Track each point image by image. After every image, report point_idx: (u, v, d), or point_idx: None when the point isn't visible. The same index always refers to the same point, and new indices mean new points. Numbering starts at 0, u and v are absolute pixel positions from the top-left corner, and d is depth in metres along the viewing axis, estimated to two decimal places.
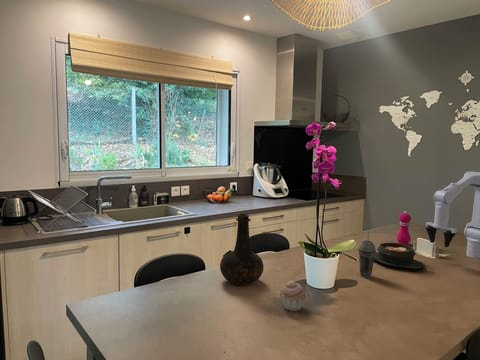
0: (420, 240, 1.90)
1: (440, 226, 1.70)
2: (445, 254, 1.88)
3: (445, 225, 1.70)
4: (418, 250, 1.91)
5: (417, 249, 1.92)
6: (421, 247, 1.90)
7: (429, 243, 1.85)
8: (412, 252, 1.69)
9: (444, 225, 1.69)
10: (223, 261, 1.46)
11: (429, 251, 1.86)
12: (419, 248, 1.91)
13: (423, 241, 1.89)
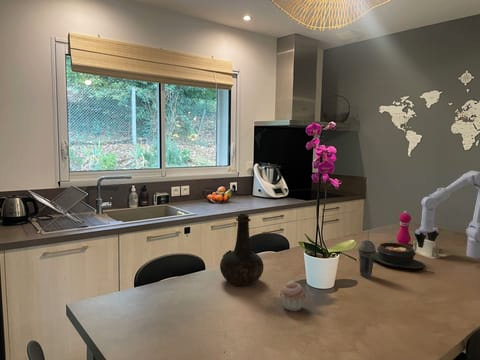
0: None
1: (420, 228, 1.89)
2: (445, 254, 1.88)
3: (422, 227, 1.87)
4: (418, 250, 1.91)
5: (417, 249, 1.92)
6: None
7: (429, 243, 1.85)
8: (412, 252, 1.69)
9: (421, 227, 1.87)
10: (223, 261, 1.46)
11: (429, 251, 1.86)
12: (419, 248, 1.91)
13: None
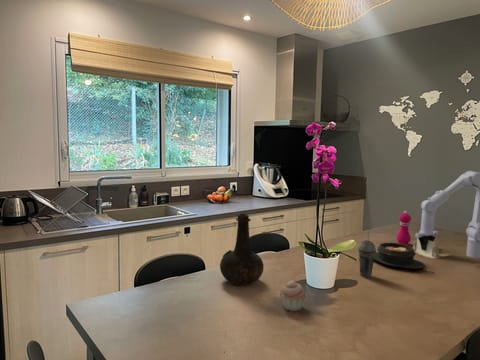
0: None
1: (420, 231, 1.89)
2: (445, 254, 1.88)
3: (422, 231, 1.87)
4: (418, 250, 1.91)
5: (417, 249, 1.92)
6: None
7: (429, 243, 1.85)
8: (412, 252, 1.69)
9: (421, 231, 1.87)
10: (223, 261, 1.46)
11: (429, 251, 1.86)
12: (419, 248, 1.91)
13: None
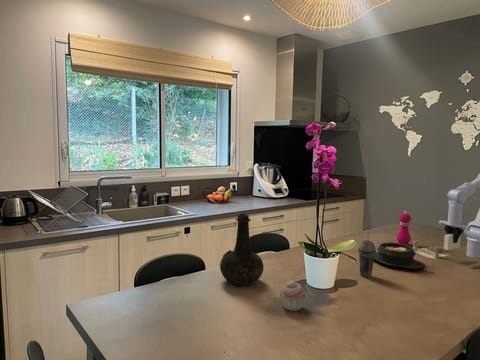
0: (451, 236, 1.76)
1: (454, 224, 1.75)
2: (445, 254, 1.88)
3: (459, 223, 1.75)
4: (449, 248, 1.76)
5: (448, 248, 1.76)
6: (451, 243, 1.77)
7: None
8: (412, 252, 1.69)
9: (458, 223, 1.75)
10: (223, 261, 1.46)
11: (457, 244, 1.79)
12: (450, 246, 1.77)
13: None
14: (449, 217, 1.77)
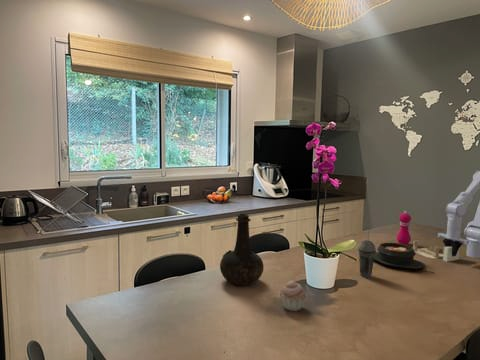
0: (450, 249, 1.77)
1: (453, 237, 1.76)
2: None
3: (458, 236, 1.76)
4: (448, 260, 1.77)
5: (447, 260, 1.77)
6: (451, 256, 1.78)
7: None
8: (412, 252, 1.69)
9: (457, 236, 1.75)
10: (223, 261, 1.46)
11: (457, 256, 1.80)
12: (449, 258, 1.77)
13: None
14: (448, 230, 1.78)
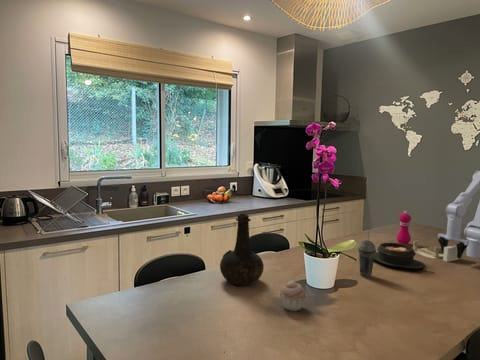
0: (450, 249, 1.77)
1: (453, 238, 1.76)
2: None
3: (457, 237, 1.76)
4: (448, 260, 1.77)
5: (447, 260, 1.77)
6: (451, 256, 1.78)
7: None
8: (412, 252, 1.69)
9: (457, 237, 1.75)
10: (223, 261, 1.46)
11: None
12: (449, 258, 1.77)
13: (452, 249, 1.78)
14: (448, 231, 1.78)
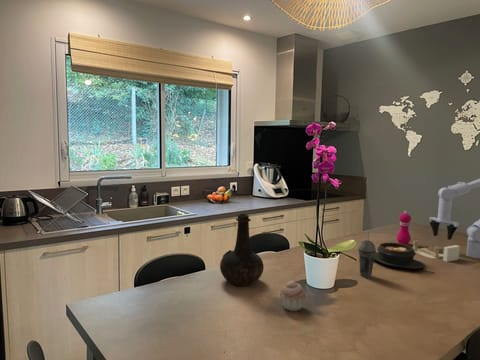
0: (450, 249, 1.77)
1: (443, 220, 1.85)
2: None
3: (448, 219, 1.85)
4: (448, 260, 1.77)
5: (447, 260, 1.77)
6: (451, 256, 1.78)
7: (457, 248, 1.79)
8: (412, 252, 1.69)
9: (447, 219, 1.85)
10: (223, 261, 1.46)
11: (457, 256, 1.80)
12: (449, 258, 1.77)
13: (452, 249, 1.78)
14: (439, 214, 1.87)
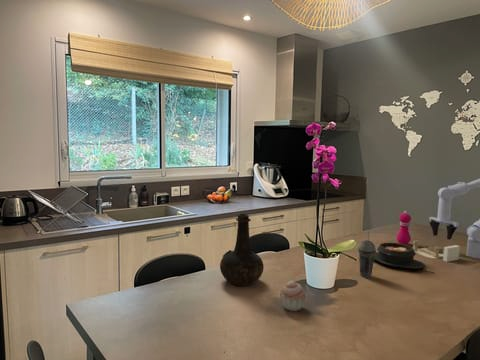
0: (450, 249, 1.77)
1: (443, 220, 1.85)
2: None
3: (448, 219, 1.85)
4: (448, 260, 1.77)
5: (447, 260, 1.77)
6: (451, 256, 1.78)
7: (457, 248, 1.79)
8: (412, 252, 1.69)
9: (447, 219, 1.85)
10: (223, 261, 1.46)
11: (457, 256, 1.80)
12: (449, 258, 1.77)
13: (452, 249, 1.78)
14: (439, 214, 1.87)
